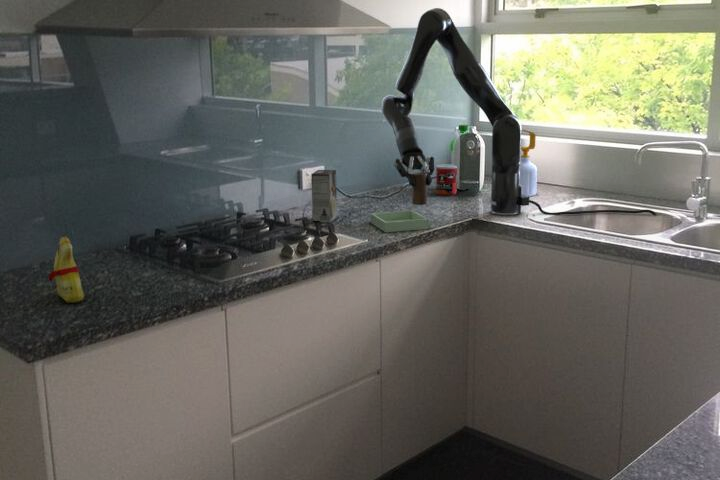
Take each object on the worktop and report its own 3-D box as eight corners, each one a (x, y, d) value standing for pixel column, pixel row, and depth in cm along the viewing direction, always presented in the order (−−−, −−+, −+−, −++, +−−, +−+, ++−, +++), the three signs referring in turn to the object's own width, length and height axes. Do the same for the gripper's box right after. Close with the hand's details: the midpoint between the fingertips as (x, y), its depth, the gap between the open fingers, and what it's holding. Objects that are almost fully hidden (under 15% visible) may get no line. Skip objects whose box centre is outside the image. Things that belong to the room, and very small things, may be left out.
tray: (412, 219, 275) (412, 210, 274) (428, 228, 261) (428, 219, 260) (370, 222, 270) (370, 213, 270) (385, 232, 257) (385, 222, 256)
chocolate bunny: (73, 290, 202) (67, 230, 199) (88, 301, 194) (82, 239, 190) (44, 295, 198) (38, 235, 195) (58, 307, 190) (52, 244, 186)
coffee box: (319, 216, 281) (318, 169, 277) (337, 216, 279) (336, 169, 276) (312, 222, 272) (310, 173, 268) (331, 222, 271) (330, 174, 267)
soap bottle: (507, 193, 317) (510, 128, 311) (529, 191, 319) (532, 127, 313) (517, 197, 308) (520, 131, 302) (540, 196, 310) (543, 130, 304)
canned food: (432, 195, 314) (432, 166, 312) (442, 191, 321) (442, 163, 318) (450, 196, 310) (451, 167, 308) (460, 193, 317) (460, 164, 314)
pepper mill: (423, 201, 278) (423, 172, 275) (429, 204, 273) (428, 174, 271) (410, 202, 277) (409, 173, 274) (415, 205, 272) (415, 175, 270)
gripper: (391, 138, 275) (403, 179, 266) (431, 135, 279) (445, 176, 271) (385, 151, 281) (398, 193, 273) (425, 149, 285) (438, 189, 277)
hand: (421, 184), depth 272 cm, fingers closed on pepper mill, 4 cm apart
